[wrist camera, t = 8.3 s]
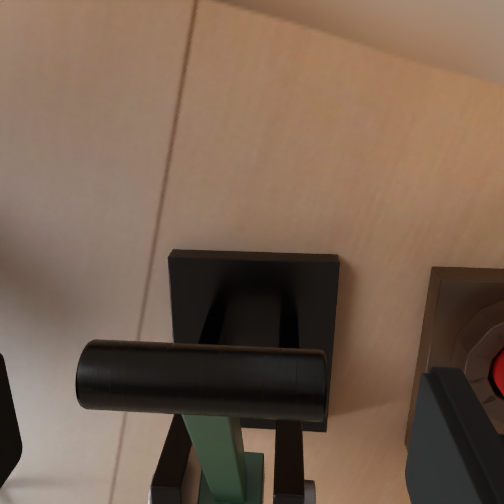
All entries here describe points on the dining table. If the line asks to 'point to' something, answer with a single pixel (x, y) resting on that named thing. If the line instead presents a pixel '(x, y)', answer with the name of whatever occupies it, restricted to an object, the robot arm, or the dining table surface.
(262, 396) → the lever
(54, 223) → the dining table surface
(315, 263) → the bracket
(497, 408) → the button block
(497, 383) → the button
